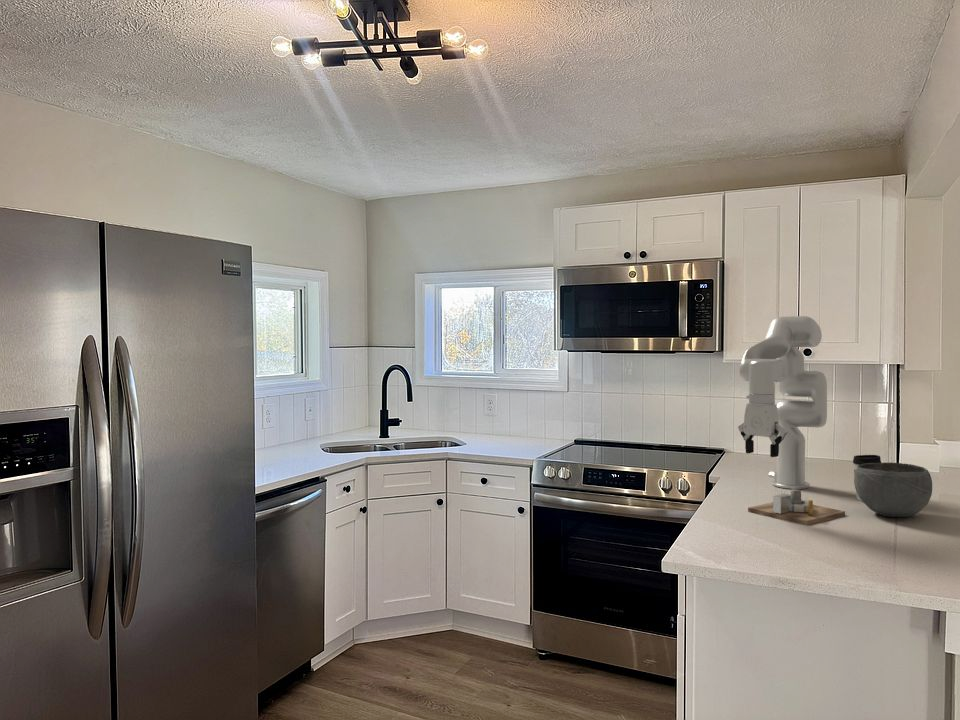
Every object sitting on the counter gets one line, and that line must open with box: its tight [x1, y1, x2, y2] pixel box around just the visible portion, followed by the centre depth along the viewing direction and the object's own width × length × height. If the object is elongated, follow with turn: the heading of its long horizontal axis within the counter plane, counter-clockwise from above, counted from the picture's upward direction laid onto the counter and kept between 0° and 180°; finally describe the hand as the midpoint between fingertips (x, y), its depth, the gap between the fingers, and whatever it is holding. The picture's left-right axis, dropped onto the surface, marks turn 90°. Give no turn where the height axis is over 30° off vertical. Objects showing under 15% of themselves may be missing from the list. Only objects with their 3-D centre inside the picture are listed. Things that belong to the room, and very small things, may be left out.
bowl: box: [853, 462, 933, 518], centre depth 217 cm, size 21×21×15 cm
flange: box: [772, 493, 808, 514], centre depth 219 cm, size 9×14×5 cm, turn 123°
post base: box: [747, 489, 846, 526], centre depth 221 cm, size 20×20×7 cm
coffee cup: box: [852, 454, 882, 502], centre depth 237 cm, size 8×8×15 cm
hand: (761, 454), depth 222 cm, fingers open, 8 cm apart
